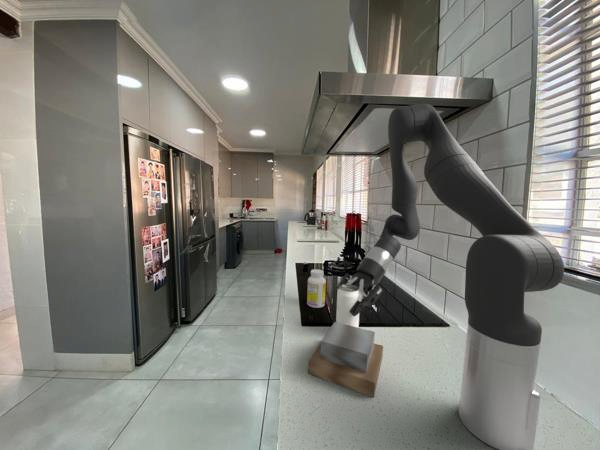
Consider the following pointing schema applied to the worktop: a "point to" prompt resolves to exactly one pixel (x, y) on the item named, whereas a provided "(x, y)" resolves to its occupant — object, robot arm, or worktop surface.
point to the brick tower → (348, 358)
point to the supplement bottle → (316, 289)
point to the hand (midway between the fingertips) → (343, 309)
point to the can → (347, 305)
